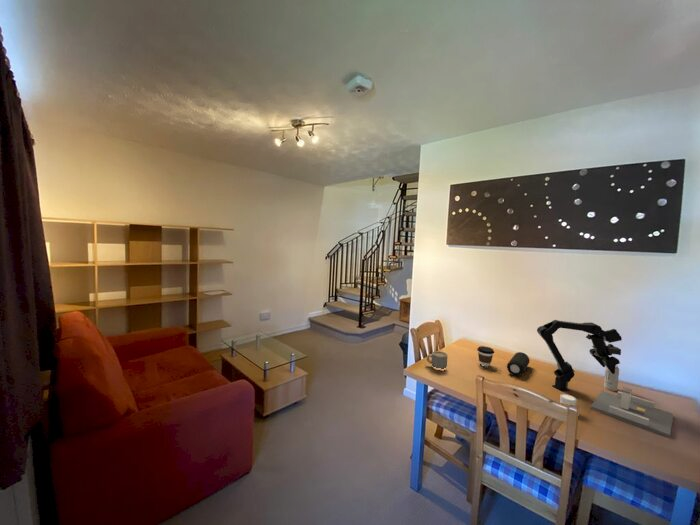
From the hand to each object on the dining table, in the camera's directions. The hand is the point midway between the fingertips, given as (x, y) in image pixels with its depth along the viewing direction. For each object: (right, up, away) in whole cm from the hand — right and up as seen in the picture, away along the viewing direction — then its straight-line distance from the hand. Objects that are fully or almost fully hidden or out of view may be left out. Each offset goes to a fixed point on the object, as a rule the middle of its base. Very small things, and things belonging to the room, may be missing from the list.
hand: (608, 370), depth 165 cm
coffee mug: (-90, -10, +31) cm, 96 cm away
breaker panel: (-3, -16, -16) cm, 23 cm away
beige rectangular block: (-5, -14, -14) cm, 21 cm away
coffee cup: (-54, -11, +37) cm, 67 cm away
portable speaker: (-35, -12, +31) cm, 48 cm away
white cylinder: (-36, -15, -16) cm, 42 cm away
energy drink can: (+9, -15, +9) cm, 19 cm away
